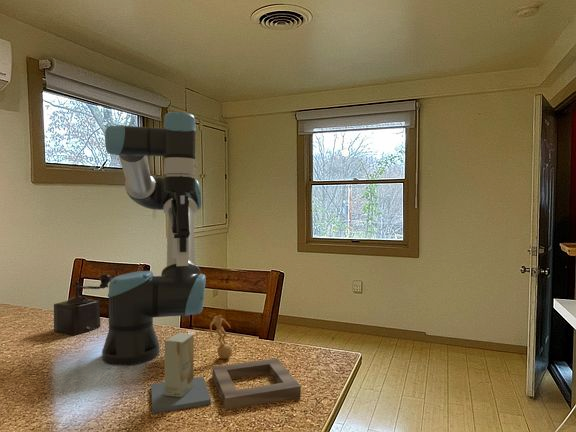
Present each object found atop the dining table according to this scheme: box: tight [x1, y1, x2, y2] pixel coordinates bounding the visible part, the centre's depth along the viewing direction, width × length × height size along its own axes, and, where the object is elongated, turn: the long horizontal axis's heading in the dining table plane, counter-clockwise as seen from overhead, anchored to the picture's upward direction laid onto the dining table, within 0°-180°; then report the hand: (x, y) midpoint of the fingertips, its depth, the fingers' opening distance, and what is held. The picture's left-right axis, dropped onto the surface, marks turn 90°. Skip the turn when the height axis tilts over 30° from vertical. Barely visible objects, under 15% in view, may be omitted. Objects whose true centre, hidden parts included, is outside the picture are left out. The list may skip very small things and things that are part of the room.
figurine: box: [209, 314, 233, 360], centre depth 112 cm, size 8×6×12 cm
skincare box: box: [164, 332, 195, 397], centre depth 90 cm, size 6×4×12 cm
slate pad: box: [150, 376, 212, 415], centre depth 90 cm, size 12×12×1 cm
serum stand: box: [211, 357, 302, 411], centre depth 94 cm, size 17×17×2 cm
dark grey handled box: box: [53, 273, 113, 337], centre depth 137 cm, size 16×11×18 cm
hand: (180, 261), depth 99 cm, fingers open, 13 cm apart
